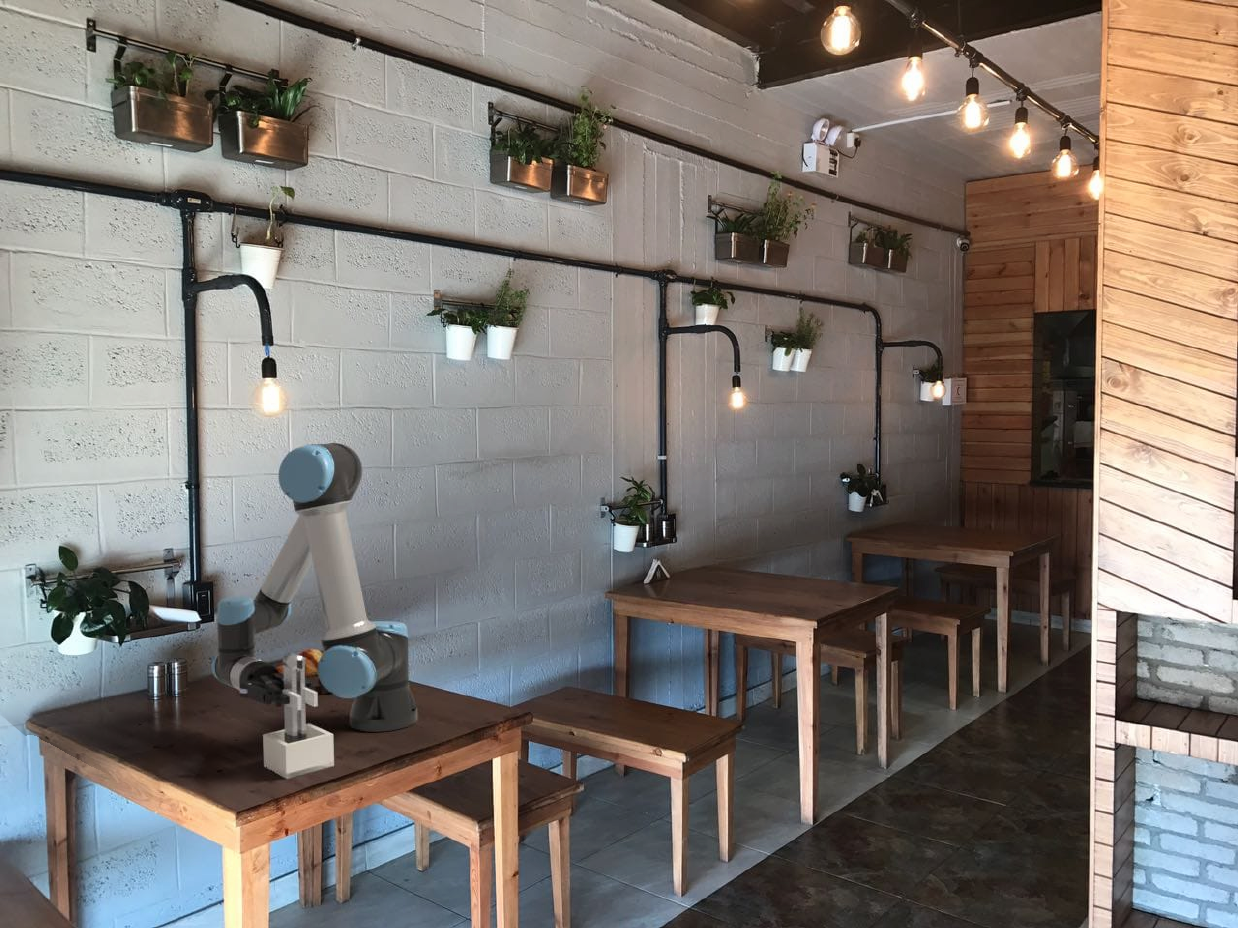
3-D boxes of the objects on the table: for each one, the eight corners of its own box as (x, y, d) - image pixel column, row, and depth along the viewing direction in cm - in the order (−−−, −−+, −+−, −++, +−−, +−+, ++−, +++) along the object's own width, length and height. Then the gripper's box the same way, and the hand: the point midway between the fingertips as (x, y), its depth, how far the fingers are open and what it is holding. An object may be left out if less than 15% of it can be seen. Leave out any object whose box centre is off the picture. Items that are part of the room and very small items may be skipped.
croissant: (350, 676, 282) (345, 649, 285) (361, 666, 274) (356, 638, 277) (274, 687, 270) (269, 658, 273) (283, 677, 262) (279, 648, 265)
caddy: (310, 753, 207) (309, 723, 207) (334, 765, 200) (333, 733, 200) (264, 766, 200) (263, 734, 200) (286, 778, 193) (285, 745, 193)
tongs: (298, 740, 203) (296, 651, 202) (309, 746, 199) (308, 655, 198) (284, 743, 200) (282, 653, 199) (295, 749, 197) (293, 658, 196)
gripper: (291, 688, 218) (344, 711, 201) (219, 702, 207) (269, 729, 190) (290, 654, 218) (344, 674, 201) (218, 667, 207) (268, 690, 190)
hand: (307, 701), depth 196 cm, fingers closed on tongs, 3 cm apart
